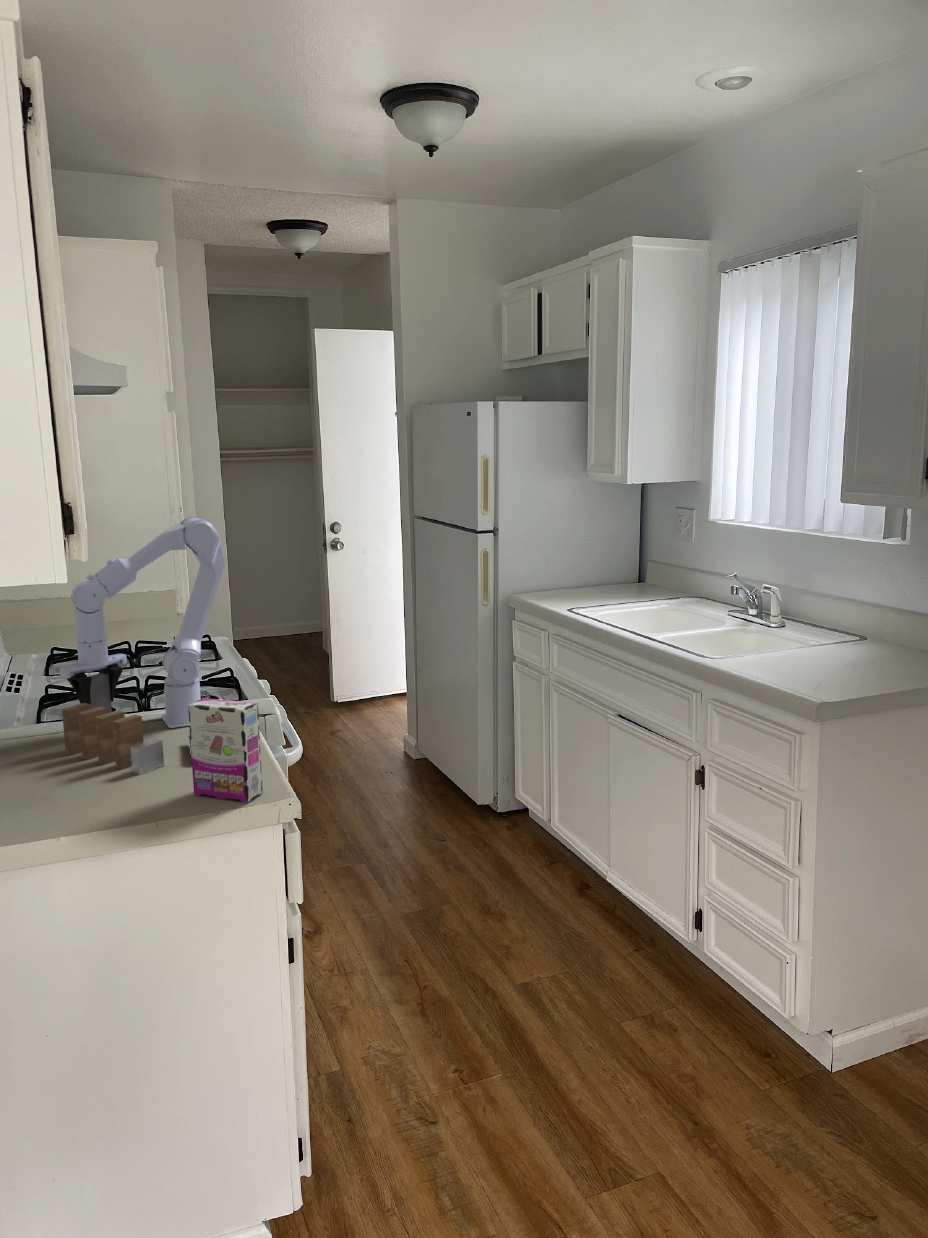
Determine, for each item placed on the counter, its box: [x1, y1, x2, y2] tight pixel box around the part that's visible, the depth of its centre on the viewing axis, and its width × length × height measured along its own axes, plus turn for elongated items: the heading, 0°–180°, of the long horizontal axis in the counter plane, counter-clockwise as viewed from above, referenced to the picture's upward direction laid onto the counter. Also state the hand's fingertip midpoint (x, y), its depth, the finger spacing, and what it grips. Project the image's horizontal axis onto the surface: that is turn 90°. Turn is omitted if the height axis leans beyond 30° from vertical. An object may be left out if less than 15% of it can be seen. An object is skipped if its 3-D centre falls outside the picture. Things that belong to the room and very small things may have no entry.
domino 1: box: [61, 703, 91, 756], centre depth 182 cm, size 2×5×9 cm, turn 148°
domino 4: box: [95, 710, 126, 765], centre depth 177 cm, size 2×5×9 cm, turn 148°
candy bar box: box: [188, 697, 264, 804], centre depth 159 cm, size 11×5×16 cm, turn 70°
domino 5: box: [112, 714, 145, 770], centre depth 174 cm, size 2×5×9 cm, turn 148°
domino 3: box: [78, 707, 108, 761], centre depth 180 cm, size 2×5×9 cm, turn 148°
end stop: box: [131, 738, 165, 776], centre depth 172 cm, size 2×6×5 cm, turn 148°
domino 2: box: [87, 672, 113, 713], centre depth 192 cm, size 2×5×9 cm, turn 148°
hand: (97, 704), depth 192 cm, fingers closed on domino 2, 5 cm apart
